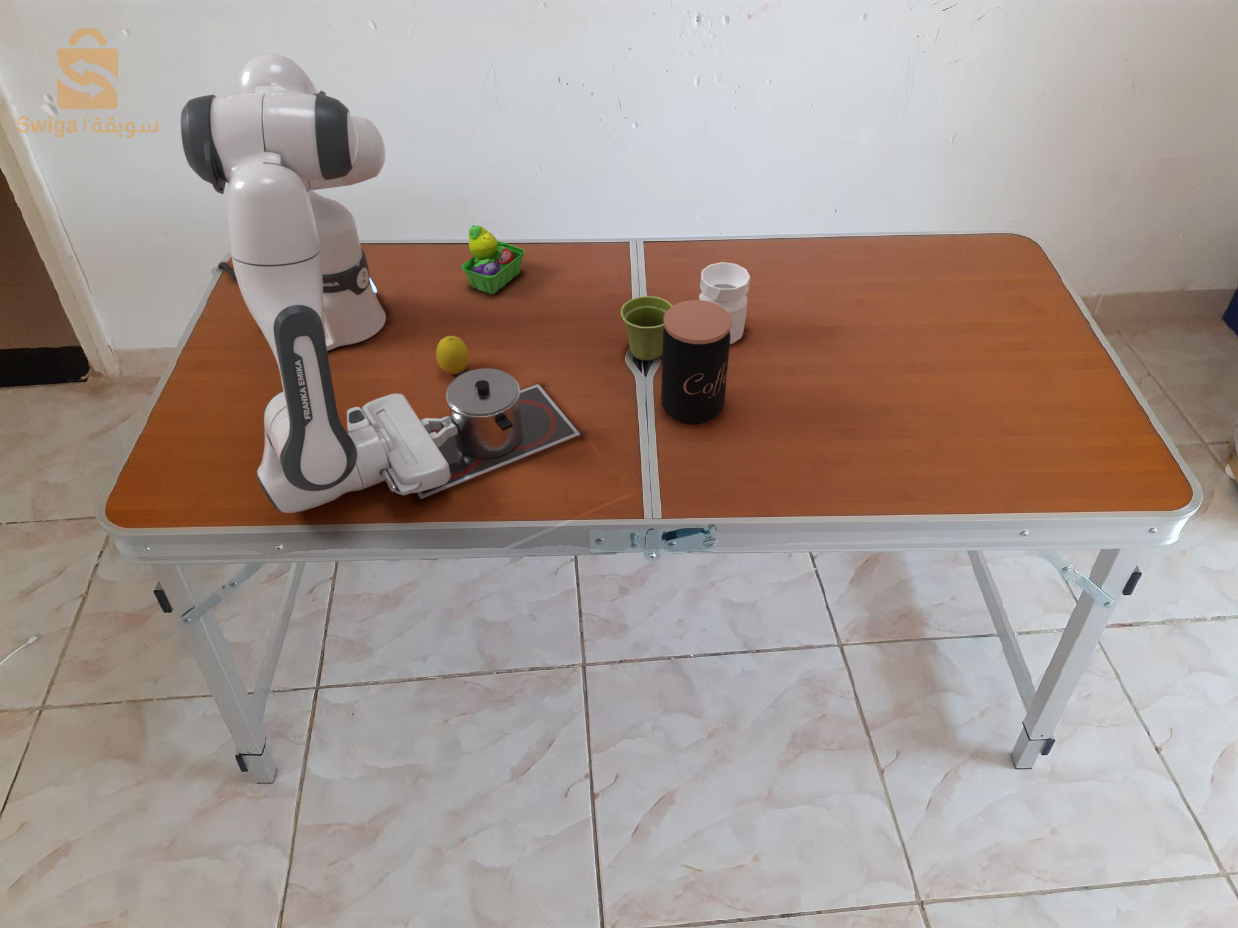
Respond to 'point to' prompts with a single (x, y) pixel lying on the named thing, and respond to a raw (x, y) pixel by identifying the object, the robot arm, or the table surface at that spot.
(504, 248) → the fruit basket
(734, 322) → the vase
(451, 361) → the lemon
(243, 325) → the table surface
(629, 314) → the plant pot
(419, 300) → the table surface
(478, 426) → the steel pot
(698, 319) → the coffee jar
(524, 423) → the hob
